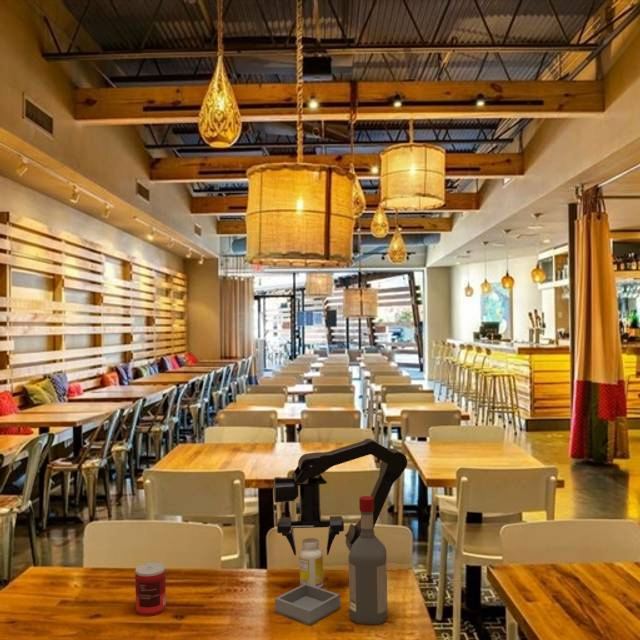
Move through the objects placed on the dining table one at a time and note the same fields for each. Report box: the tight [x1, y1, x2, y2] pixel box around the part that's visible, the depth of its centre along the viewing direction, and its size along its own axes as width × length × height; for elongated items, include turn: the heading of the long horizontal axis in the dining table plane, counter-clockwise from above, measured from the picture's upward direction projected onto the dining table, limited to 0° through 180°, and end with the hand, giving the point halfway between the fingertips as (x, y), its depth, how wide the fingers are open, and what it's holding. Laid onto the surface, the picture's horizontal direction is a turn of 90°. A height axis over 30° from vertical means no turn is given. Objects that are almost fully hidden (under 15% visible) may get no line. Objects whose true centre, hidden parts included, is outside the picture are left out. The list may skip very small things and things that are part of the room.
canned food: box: [134, 562, 167, 617], centre depth 166 cm, size 8×8×11 cm
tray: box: [274, 583, 341, 626], centre depth 164 cm, size 12×12×4 cm
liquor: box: [348, 495, 389, 626], centre depth 160 cm, size 9×9×30 cm
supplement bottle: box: [299, 537, 324, 589], centre depth 179 cm, size 7×7×13 cm
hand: (311, 554), depth 179 cm, fingers open, 9 cm apart
